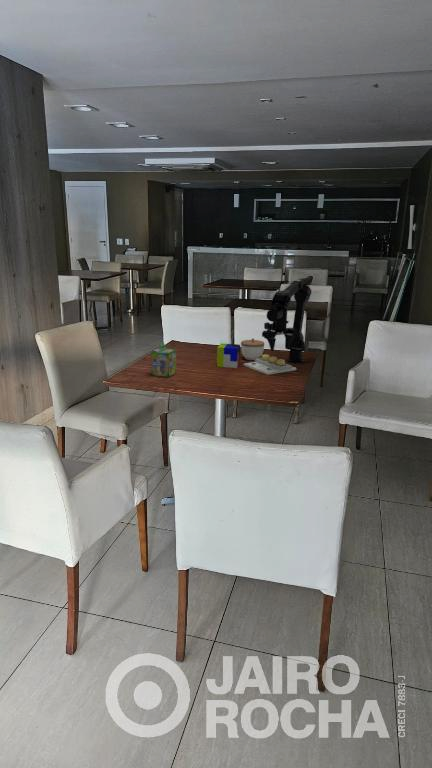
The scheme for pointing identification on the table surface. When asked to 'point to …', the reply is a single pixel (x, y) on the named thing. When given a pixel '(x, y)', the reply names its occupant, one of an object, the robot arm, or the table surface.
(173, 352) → the green patterned box
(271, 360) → the button mid
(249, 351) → the lidded bowl
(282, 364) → the button
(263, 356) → the button
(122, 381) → the table surface
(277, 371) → the board
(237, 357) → the puzzle toy
